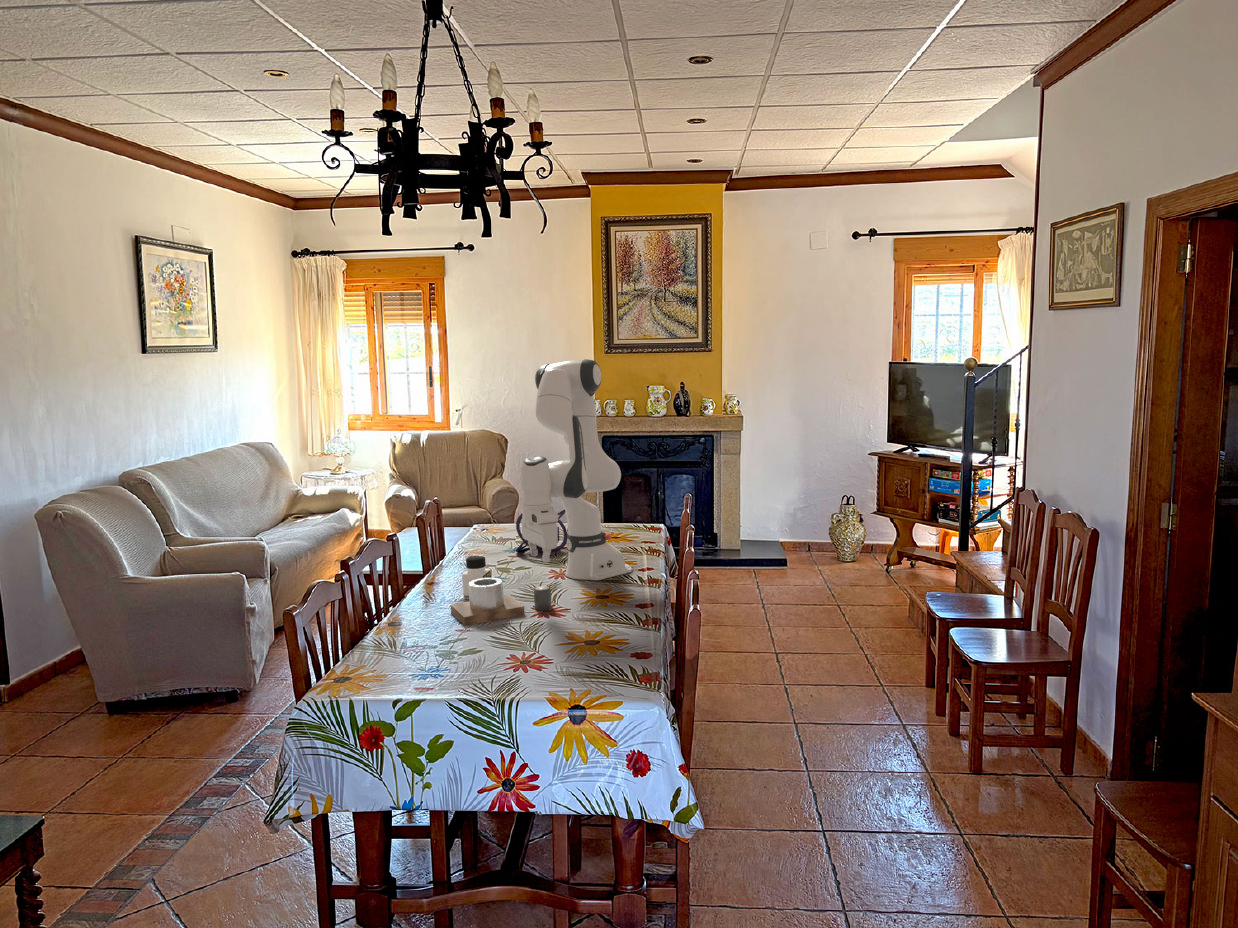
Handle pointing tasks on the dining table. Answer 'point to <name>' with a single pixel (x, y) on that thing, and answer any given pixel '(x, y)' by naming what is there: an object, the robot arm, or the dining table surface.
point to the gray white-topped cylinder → (542, 597)
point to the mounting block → (486, 611)
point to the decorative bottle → (537, 545)
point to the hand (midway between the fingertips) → (540, 558)
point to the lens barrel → (486, 594)
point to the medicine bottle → (474, 571)
